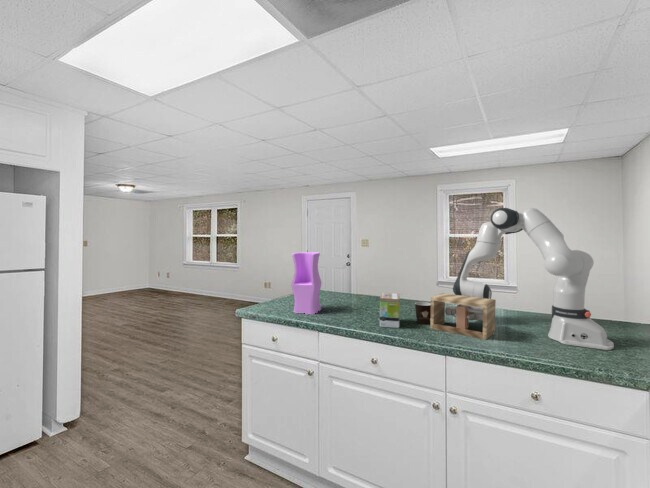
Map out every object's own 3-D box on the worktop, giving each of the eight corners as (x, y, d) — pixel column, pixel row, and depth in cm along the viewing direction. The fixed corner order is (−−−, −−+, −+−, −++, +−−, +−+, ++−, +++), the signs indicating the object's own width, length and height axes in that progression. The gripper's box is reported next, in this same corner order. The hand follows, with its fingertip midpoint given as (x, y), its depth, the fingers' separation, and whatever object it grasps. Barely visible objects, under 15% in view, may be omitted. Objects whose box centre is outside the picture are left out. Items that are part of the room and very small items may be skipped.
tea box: (399, 328, 163) (400, 298, 162) (379, 327, 165) (379, 297, 164) (399, 320, 178) (399, 292, 177) (380, 319, 180) (380, 292, 179)
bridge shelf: (495, 332, 156) (495, 299, 155) (486, 339, 145) (486, 304, 145) (441, 322, 173) (441, 293, 172) (430, 328, 162) (430, 297, 161)
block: (468, 327, 160) (468, 305, 159) (464, 330, 156) (465, 307, 155) (459, 326, 162) (460, 304, 162) (456, 328, 159) (456, 305, 158)
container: (291, 313, 193) (291, 253, 192) (300, 308, 207) (299, 252, 205) (314, 314, 189) (313, 254, 188) (321, 309, 203) (321, 252, 201)
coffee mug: (413, 323, 171) (413, 304, 170) (416, 319, 178) (416, 301, 178) (436, 326, 165) (436, 306, 165) (439, 322, 173) (439, 303, 172)
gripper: (450, 301, 175) (440, 306, 165) (492, 307, 162) (484, 313, 151) (450, 313, 176) (440, 319, 165) (492, 320, 162) (484, 326, 152)
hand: (461, 316), depth 158 cm, fingers closed on block, 4 cm apart
